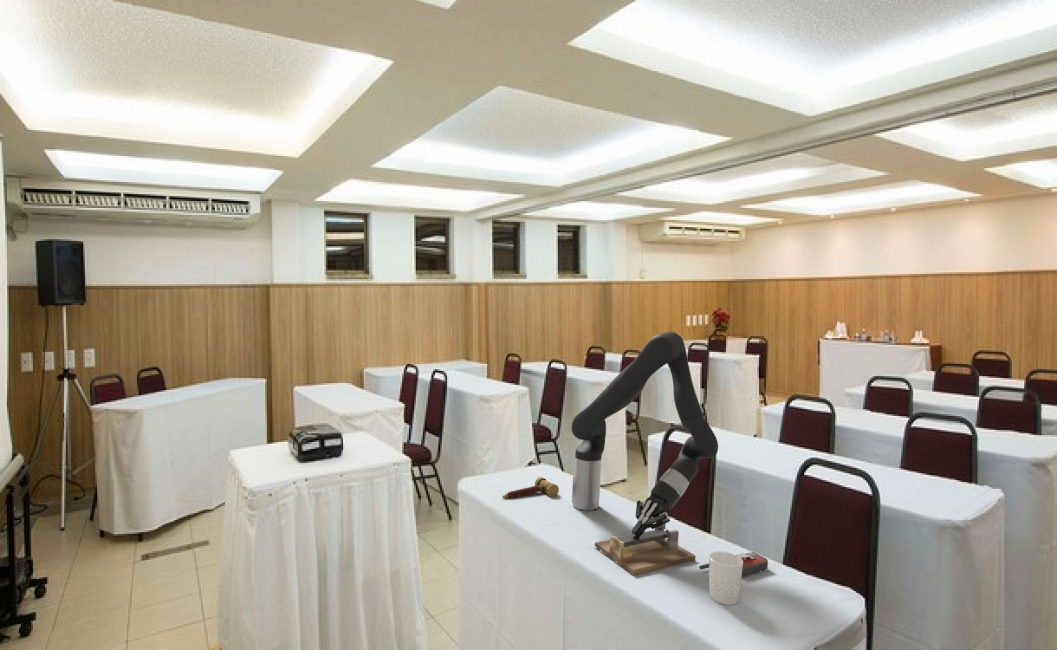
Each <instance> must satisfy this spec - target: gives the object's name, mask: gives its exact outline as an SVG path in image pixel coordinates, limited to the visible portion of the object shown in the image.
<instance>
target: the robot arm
mask: <svg viewBox="0 0 1057 650" xmlns="http://www.w3.org/2000/svg"><path fill="white" fill-rule="evenodd" d="M665 365H667V366H668V368H669V371H670V374H671V377H672V385H673V388H672V389H673V390H672V391H673V401H674V404H675V405H674V406H675V409H676V412H677V414H678V415H677V416H678V417H679V418H678V419H679V421H680V423H681V425H682V427H683V428H684V429H685V430H688V431H689V432H690V436H689V437H688V438H687V439H686V440H685V442H684V443H683V444H682V447H681V450H680V451H679V453H678V457H677V458H676V459H675V461H673V463H672V464H671V466H670V467H669V468H668V469H667V470H666V471H665V472H664V473H663V475H662V476H661V477H660V478H659V480H658V481H657V483H656V484H655V485H654V486H653V488H652V489H651V491H650V495H649V496H648V497H647V498H646V499H645V500H644V501H641V500H640V499H639V500H637V501H636V508H635V515H634V516H635V518H636V519H637V522H636V524H635V525H634V526H633V528H632V529H631V535H632V534H633V535H634V536H635V537H637V538H639V537H640V536H641V535H642V534H643V533H644V532H646V530H648V529H651V530H655V528H657V527H659V526H661V525H663V524H668V523H670V521H671V520H670V519H671V518H670V517H669V516H668V513H670V510H671V509H673V508H674V506H675V505H676V504H677V503H678V501H679V500H680V499H681V497H682V496H683V495H684V493H685V492H686V490H687V488H688V487H689V485H690V483H691V482H692V481H693V480H694V478H695V477H696V476H697V474H698V472H699V466H698V463H699V462H700V460H701V459H711V458H713V457H715V456H716V455H717V454H718V451H719V442H718V439H717V437H716V434H715V432H714V431H713V430H712V428H711V426H710V424H709V423H708V421H707V420H706V419H705V417H704V413H703V409H702V407H701V404H700V402H699V399H698V396H697V393H696V390H695V386H694V383H693V379H692V376H691V369H690V365H689V360H688V354H687V350H686V346H685V342H684V339H683V338H682V336H681V335H680V334H679V333H677V332H675V331H666V332H663V333H662V332H661V333H660V334H656V335H654V336H652V337H651V338H650V339H649V340H648V342H647V343H646V344H645V346H644V347H643V348H642V349H641V351H640V352H639V354H638V355H637V356H636V357H635V358H634V360H633V361H632V362H630V364H628V365H627V366H626V367H625V368H624V369H623V370H621V372H620V373H619V374H617V376H616V377H614V379H613V380H612V381H611V382H609V384H608V385H607V386H606V387H605V389H603V390H602V392H601V393H599V395H598V396H597V397H596V398H594V400H593V401H592V402H591V403H590V404H588V405H587V406H586V407H585V408H584V409H583V410H581V411H580V412H579V413H578V414H576V415H575V417H574V418H573V420H572V423H571V433H572V435H573V436H574V437H575V438H576V439H578V440H582V442H581V443H580V444H579V446H577V448H576V449H575V453H574V455H575V456H574V474H573V475H574V476H572V490H571V491H572V492H571V494H572V495H571V503H572V506H573V507H574V508H575V509H578V510H581V509H582V510H581V511H595V510H594V509H596V510H598V509H599V508H600V497H601V477H602V475H601V473H602V456H603V453H604V450H605V445H606V437H607V436H606V434H607V423H606V419H608V418H609V417H611V416H613V415H615V414H617V413H618V412H620V411H621V410H624V408H626V407H628V405H630V404H631V403H632V402H633V401H635V400H636V399H637V397H638V396H639V395H640V394H641V393H642V391H643V390H644V388H645V386H646V384H647V382H648V380H649V379H650V377H652V376H653V375H654V374H655V373H656V372H657V371H659V369H661V368H662V367H663V366H665ZM598 507H599V508H598ZM597 508H598V509H597Z"/></svg>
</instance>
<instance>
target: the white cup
mask: <svg viewBox="0 0 1057 650" xmlns="http://www.w3.org/2000/svg"><path fill="white" fill-rule="evenodd" d="M736 555H737V554H734V553H732V552H727V551H714V552H711V553H710V554H709V556H708V558H709V559H708V560H709V561H708V563H709V568H708V580H709V581H708V582H709V583H708V585H709V597H710V598H711V600H713V601H715V602H716V603H718V604H721V605H727V606H732V605H737V603H738V602H739V599H740V598H739V596H740V590H741V583H742V578H741V577H742V568H743V560H742V559H741V558H740V557H738V556H736Z"/></svg>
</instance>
